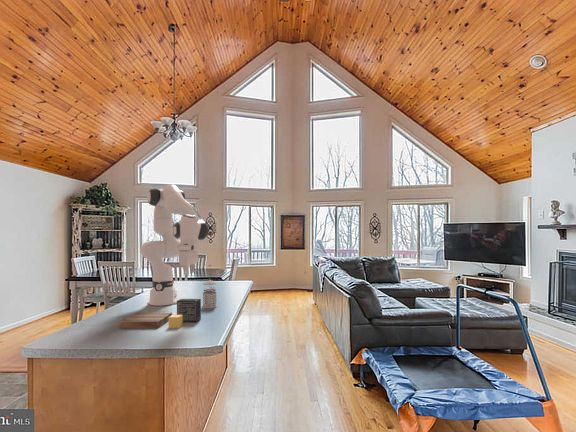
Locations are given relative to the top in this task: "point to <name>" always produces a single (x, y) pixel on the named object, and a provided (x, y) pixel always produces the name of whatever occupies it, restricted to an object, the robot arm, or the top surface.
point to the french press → (209, 295)
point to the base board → (145, 320)
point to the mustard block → (175, 321)
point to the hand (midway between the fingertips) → (189, 273)
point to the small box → (189, 309)
